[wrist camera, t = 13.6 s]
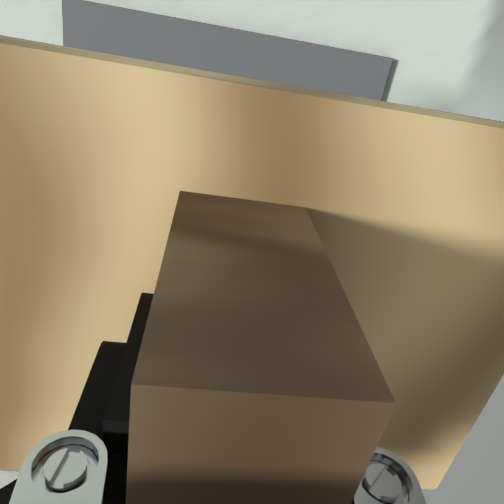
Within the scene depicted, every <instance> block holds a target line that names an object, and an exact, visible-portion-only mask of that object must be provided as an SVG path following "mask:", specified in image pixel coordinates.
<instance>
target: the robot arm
mask: <svg viewBox="0 0 504 504" xmlns="http://www.w3.org/2000/svg"><path fill="white" fill-rule="evenodd" d="M153 295H154V294H152V293H141V296H140V299H139V302H138V306H137V309H136V312H135V316H134V319H133V322H132V326H131V329H130V332H129V336H128V339H127V342H126V343H123V342H111V341H103V342H102V343H101V345H100V347H99V349H98V352H97V355H96V357H95V360H94V363H93V365H92V368H91V370H90V373H89V376H88V378H87V381H86V384H85V386H84V389H83V391H82V394H81V397H80V399H79V402H78V405H77V407H76V410H75V412H74V415H73V418H72V420H71V423H70V426H69V428H68V430H67V431H61V432H58V433H55V434H53V435H50V436H48V437H47V438H45V439H43V440H42V441H40V442H39V443H37V444H36V445H35V447H34V448H33V449H32V450H31V451H30V452H29V453H28V454H27V456H26V458H25V460H24V462H23V464H22V466H21V469H20V472H19V475H18V478H17V479H16V480H14V481H13V482H11V483H10V484H8V485H6V486H5V487H3V488H1V489H0V504H126V485H127V463H128V440H129V418H130V396H131V382H132V378H133V375H134V371H135V367H136V363H137V359H138V355H139V351H140V347H141V343H142V339H143V335H144V331H145V327H146V323H147V319H148V315H149V311H150V307H151V303H152V299H153ZM351 504H426V502H425V498H424V496H423V493H422V490H421V487H420V484H419V481H418V479H417V477H416V475H415V473H414V472H413V470H412V469H411V468H410V467H409V465H408V464H407V463H406V462H405V461H404V460H402V459H401V458H400V457H399V456H397V455H396V454H394V453H392V452H390V451H388V450H386V449H383V448H379V447H376V449H375V451H374V454H373V456H372V458H371V460H370V463H369V465H368V467H367V469H366V471H365V474H364V476H363V478H362V480H361V483H360V485H359V487H358V489H357V491H356V494H355V496H354V498H353V500H352V503H351Z"/></svg>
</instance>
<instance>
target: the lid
mask: <svg viewBox="0 0 504 504" xmlns="http://www.w3.org/2000/svg"><path fill="white" fill-rule="evenodd" d="M141 293H152V294H154V295H153V299H152V303H151V307H150V311H149V315H148V319H147V323H146V327H145V331H144V335H143V339H142V343H141V347H140V351H139V355H138V359H137V363H136V367H135V371H134V375H133V378H132V382H131V396H130V418H129V440H128V463H127V485H126V504H351V503H352V500H353V498H354V496H355V494H356V491H357V489H358V487H359V485H360V483H361V480H362V478H363V476H364V474H365V471H366V469H367V467H368V465H369V463H370V460H371V458H372V456H373V454H374V451H375V449H376V447H379V448H383V449H386V450H388V451H390V452H392V453H394V454H396V455H397V456H399V457H400V458H401V459H402V460H404V461H405V462H406V463H407V464H408V465H409V467H410V468H411V469H412V470H413V472H414V473H415V475H416V477H417V479H418V481H419V484H420V487H421V489H436V488H437V487H438V485H439V483H440V482H441V480H442V478H443V476H444V475H445V473H446V471H447V469H448V468H449V466H450V465H451V463H452V461H453V459H454V458H455V456H456V454H457V453H458V451H459V449H460V447H461V446H462V444H463V442H464V440H465V439H466V437H467V435H468V434H469V432H470V430H471V429H472V427H473V425H474V424H475V422H476V420H477V419H478V417H479V415H480V413H481V412H482V410H483V408H484V407H485V405H486V403H487V401H488V400H489V398H490V396H491V395H492V393H493V391H494V389H495V388H496V386H497V384H498V383H499V381H500V379H501V378H502V376H503V374H504V122H501V121H495V120H489V119H483V118H477V117H472V116H466V115H460V114H454V113H448V112H443V111H437V110H431V109H425V108H419V107H414V106H408V105H402V104H396V103H390V102H384V101H379V100H373V99H367V98H361V97H355V96H350V95H344V94H338V93H332V92H326V91H321V90H315V89H309V88H303V87H297V86H292V85H286V84H280V83H274V82H268V81H263V80H257V79H251V78H245V77H239V76H233V75H228V74H222V73H216V72H210V71H204V70H199V69H193V68H187V67H181V66H175V65H170V64H164V63H158V62H152V61H146V60H141V59H135V58H129V57H123V56H117V55H112V54H106V53H100V52H94V51H88V50H83V49H77V48H71V47H65V46H59V45H53V44H48V43H42V42H36V41H30V40H24V39H19V38H13V37H7V36H1V35H0V470H4V471H20V469H21V466H22V464H23V462H24V460H25V458H26V456H27V454H28V453H29V452H30V451H31V450H32V449H33V448H34V447H35V445H36V444H37V443H39V442H40V441H42V440H43V439H45V438H47V437H48V436H50V435H53V434H55V433H58V432H61V431H67V430H68V428H69V426H70V423H71V420H72V418H73V415H74V412H75V410H76V407H77V405H78V402H79V399H80V397H81V394H82V391H83V389H84V386H85V384H86V381H87V378H88V376H89V373H90V370H91V368H92V365H93V363H94V360H95V357H96V355H97V352H98V349H99V347H100V345H101V343H102V342H103V341H111V342H123V343H126V342H127V339H128V336H129V332H130V329H131V326H132V322H133V319H134V316H135V312H136V309H137V306H138V302H139V299H140V296H141Z"/></svg>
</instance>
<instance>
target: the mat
mask: <svg viewBox="0 0 504 504" xmlns="http://www.w3.org/2000/svg"><path fill="white" fill-rule="evenodd" d="M62 15H63V43H64V46H65V47H71V48H77V49H83V50H88V51H94V52H100V53H106V54H112V55H117V56H123V57H129V58H135V59H141V60H146V61H152V62H158V63H164V64H170V65H175V66H181V67H187V68H193V69H199V70H204V71H210V72H216V73H222V74H228V75H233V76H239V77H245V78H251V79H257V80H263V81H268V82H274V83H280V84H286V85H292V86H297V87H303V88H309V89H315V90H321V91H326V92H332V93H338V94H344V95H350V96H355V97H361V98H367V99H373V100H379V101H381V98H382V95H383V91H384V88H385V85H386V81H387V78H388V74H389V71H390V67H391V64H392V61H393V58H388V57H383V56H378V55H372V54H367V53H361V52H356V51H351V50H345V49H340V48H335V47H329V46H324V45H319V44H313V43H308V42H303V41H297V40H292V39H287V38H281V37H276V36H271V35H265V34H260V33H255V32H249V31H244V30H239V29H233V28H228V27H223V26H217V25H212V24H206V23H201V22H196V21H190V20H185V19H180V18H174V17H169V16H164V15H158V14H153V13H148V12H142V11H137V10H132V9H126V8H121V7H116V6H110V5H105V4H100V3H94V2H89V1H84V0H62Z"/></svg>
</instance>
